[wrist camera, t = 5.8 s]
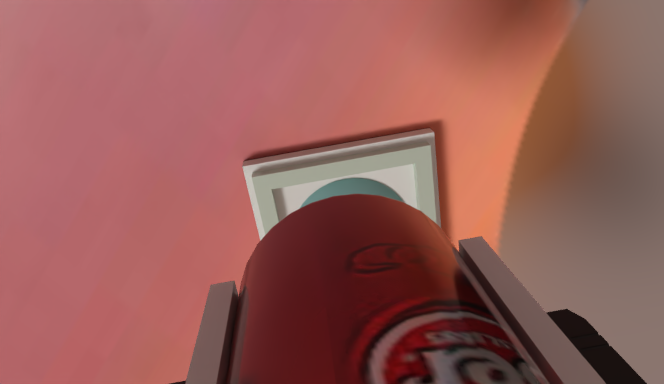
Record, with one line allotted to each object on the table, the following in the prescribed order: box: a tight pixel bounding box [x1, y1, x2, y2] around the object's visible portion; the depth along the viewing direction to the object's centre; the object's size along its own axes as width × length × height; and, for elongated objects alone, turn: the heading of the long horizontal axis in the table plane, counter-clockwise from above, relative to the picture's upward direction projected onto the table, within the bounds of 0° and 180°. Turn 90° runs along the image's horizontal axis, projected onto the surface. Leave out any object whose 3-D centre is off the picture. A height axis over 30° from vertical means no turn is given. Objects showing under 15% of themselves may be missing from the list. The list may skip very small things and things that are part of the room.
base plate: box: [242, 128, 441, 240], centre depth 32 cm, size 12×12×2 cm
